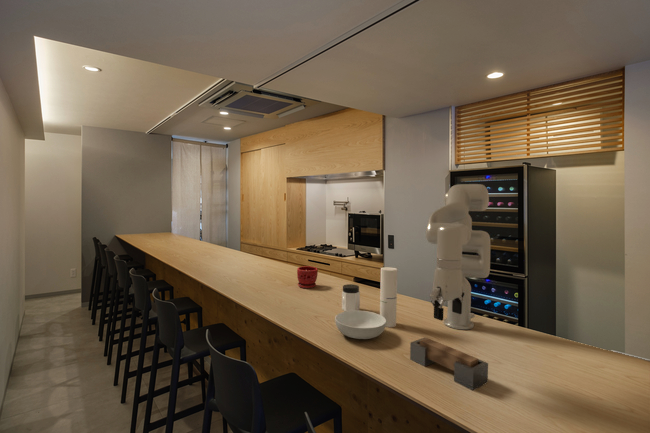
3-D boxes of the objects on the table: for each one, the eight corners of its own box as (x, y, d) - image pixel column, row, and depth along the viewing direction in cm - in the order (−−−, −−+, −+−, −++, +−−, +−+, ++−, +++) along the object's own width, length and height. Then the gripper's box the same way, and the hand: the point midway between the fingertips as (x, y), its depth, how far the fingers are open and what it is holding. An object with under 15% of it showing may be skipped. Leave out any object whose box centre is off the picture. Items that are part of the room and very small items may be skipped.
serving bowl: (373, 350, 125) (373, 331, 124) (325, 337, 136) (325, 320, 135) (393, 331, 142) (393, 315, 142) (349, 322, 153) (349, 307, 153)
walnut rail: (419, 354, 117) (419, 340, 116) (426, 351, 119) (427, 337, 119) (470, 378, 101) (470, 362, 101) (477, 374, 103) (478, 358, 103)
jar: (339, 307, 173) (339, 284, 173) (353, 306, 176) (353, 283, 176) (347, 313, 165) (347, 289, 164) (362, 311, 168) (362, 287, 168)
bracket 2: (487, 382, 103) (488, 363, 102) (472, 390, 98) (473, 370, 98) (468, 373, 108) (469, 355, 108) (453, 381, 103) (454, 362, 103)
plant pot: (294, 288, 210) (294, 269, 210) (299, 283, 223) (299, 265, 223) (315, 289, 208) (315, 270, 208) (319, 284, 221) (319, 266, 221)
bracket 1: (410, 359, 117) (410, 342, 117) (424, 353, 122) (425, 337, 122) (424, 366, 112) (425, 348, 112) (439, 360, 117) (439, 343, 117)
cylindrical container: (396, 327, 147) (397, 270, 145) (379, 326, 148) (380, 270, 147) (396, 322, 154) (397, 267, 152) (380, 320, 155) (381, 266, 154)
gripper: (454, 259, 117) (453, 307, 118) (422, 265, 107) (421, 318, 108) (475, 262, 110) (473, 313, 112) (442, 269, 101) (441, 325, 102)
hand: (447, 316), depth 110 cm, fingers open, 9 cm apart
